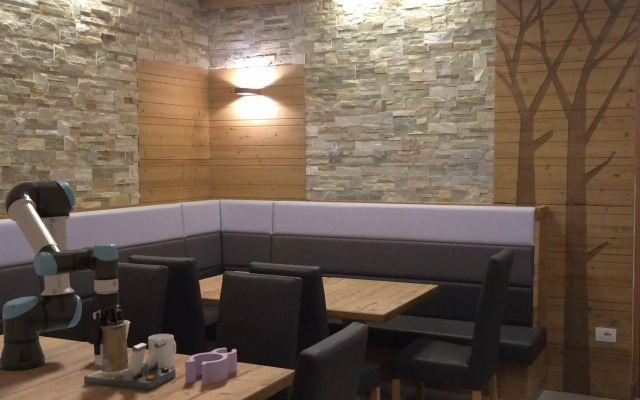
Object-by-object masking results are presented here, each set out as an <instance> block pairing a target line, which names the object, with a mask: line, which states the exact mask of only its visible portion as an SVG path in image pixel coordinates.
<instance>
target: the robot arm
mask: <svg viewBox="0 0 640 400" xmlns="http://www.w3.org/2000/svg"><path fill="white" fill-rule="evenodd" d="M75 205H76V199H75V193H74V191H73V188H72V187H71V186H70V184H69V183H68V182H66V181H62V180H52V181H51V180H50V181H49V180H48V181H47V180H45V181H44V180H43V181H24V182H21V183H18V184H16V185H14V186H13V187H12V188H11V189H10V190H9V191H8V194H7V195H6V197H5V201H4V207H5V212H6V214H7V216H8V217H9V219H10V220H11V221H13V222H15V223H16V225H17V227H18V228H19V230H20V232H21V233H22V234H23V235H22V236H24V238H25V240H26V241H27V243H28V245H29V246H30V248H31V250H32V251H33V253H34V257H33V267H34V271H35V273H36V274H37V275H38V276H40V277H43V278H44V280H43V281H44V290H43V291H42V292H41V293H40V299H38V297H37V296H30V295H29V296H21V297H19V298H18V297H17V298H15V299H11V300H9V301H7V302H6V303H5V304H3V307H2V314H1V315H2V316H1V317H2V328H3V329H2V330H3V348H2V350H1V353H0V369H1V370H5V371H23V370H29V369H33V368H37V367H40V366H43V365H44V364H45V363H46V356H45V355H46V354H45V353H44V351H43V348H42V345H41V342H40V333H45V332H46V333H47V332H51V331H57V330H66V329H68V328H73V327H75V326H76V325H78V324H79V322H80V320H81V318H82V317H81V316H82V312H83V306H82V305H83V304H82V301H81V297H80V296H79V295H77V294H75V293H76V292H75V290H74V289H73V288H72V287H71V285H70V274H73V273H74V274H75V273H82V272H93V277H94V278H93V286H94V287H93V290H94V292H95V293H94V305H96V306H97V310H96V311H95V312H94V311H92V312H91V313H90V317H91V322H90V323H91V324H90V328H89V329H90V330H89V339H88V344H89V345H93V355H94V365H95V366H96V365H98V366H100V365H103V364H104V361H103V344H101V342H102V338H103V332H102V329H101V328H100V327H101V326H105V327H106V324H108V321H111V322H113V323H115V324H117V321H124V320H125V317H124V313H123V310H124V308H123V305H122V304H119V302H120V294H119V293H120V292H119V254H118V246H117V245H116V244H115V243H108V242H107V243H96V244H94V245H93V246H84V247H81V248H77V249H68V237H67V235H68V234H67V223H66V222H67V221H68V220H69V218H70V217H71V216H70V215H71V212H73V211H74V210H75Z"/></svg>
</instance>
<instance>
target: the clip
mask: <svg viewBox="0 0 640 400" xmlns="http://www.w3.org/2000/svg"><path fill="white" fill-rule="evenodd" d="M237 353H238V352H237V349H236V348H232V349H231V351H230V352H228V349H227V347H221V348H215V349H213V350H212V351H209V352H201V353H196V354H192V355H191V356H190V357H189V358H188V360H185V362H184V363H185V365H184V367H185V368H184V369H185V383H186V384H187V383H194V382H196V381H197V379H196V377H198V376H201V385H202V386H207V385H208V384H214V383H215V384H216V383H219V382H223V381H226V380H227V379H228V376H229V375H231V374H234V373H236V372H237V371H238V358H237V357H238V355H237Z"/></svg>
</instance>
